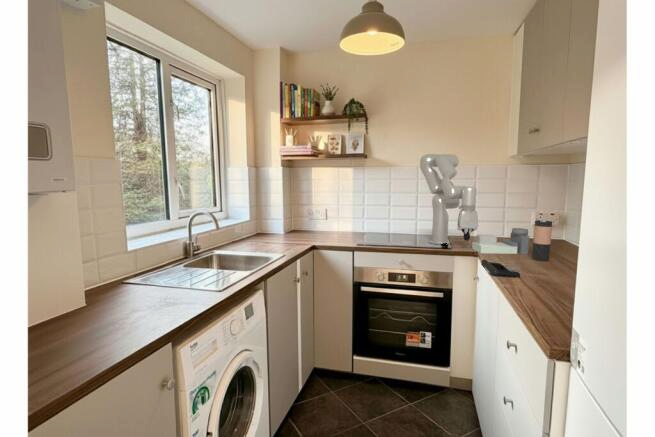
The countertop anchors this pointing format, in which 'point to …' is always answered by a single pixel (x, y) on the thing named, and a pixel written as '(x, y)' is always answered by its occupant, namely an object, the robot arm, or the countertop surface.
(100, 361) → the countertop surface
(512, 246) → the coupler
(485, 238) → the lock block
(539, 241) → the travel mug
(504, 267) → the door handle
